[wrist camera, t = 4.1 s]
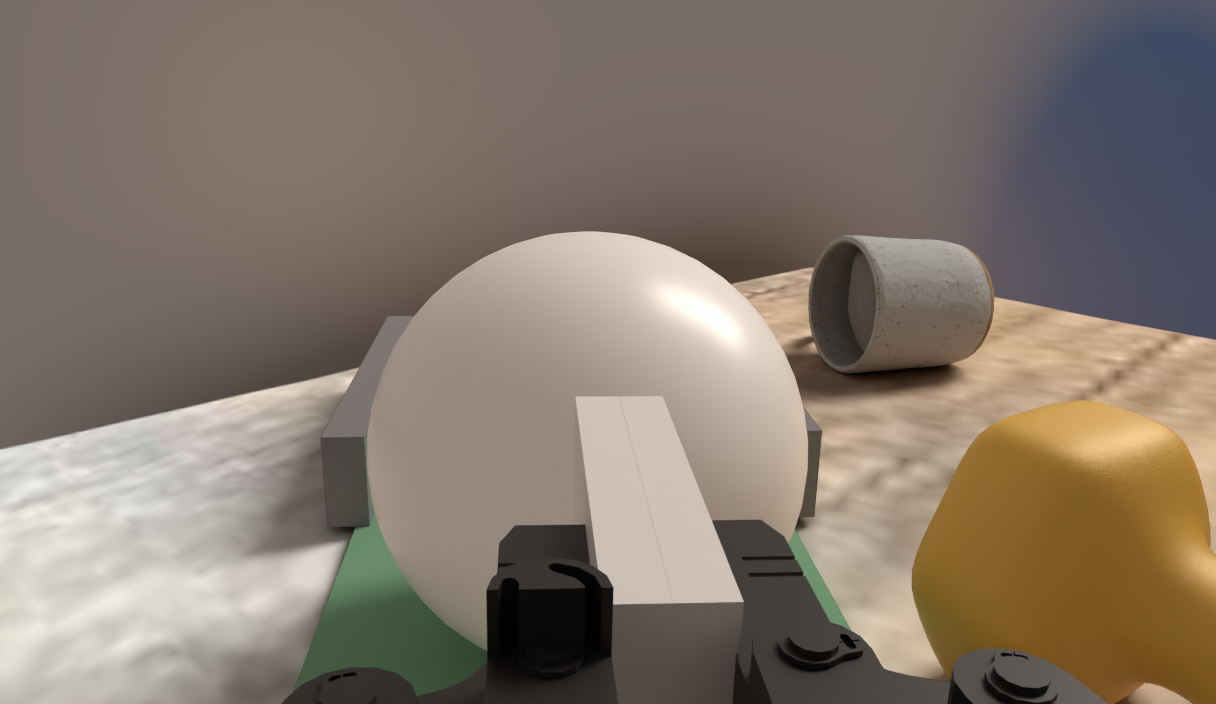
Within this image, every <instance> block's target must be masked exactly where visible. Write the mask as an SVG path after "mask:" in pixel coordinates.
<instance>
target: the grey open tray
mask: <svg viewBox="0 0 1216 704" xmlns="http://www.w3.org/2000/svg"><path fill="white" fill-rule="evenodd" d="M413 317H414V316H388V318H387V319H386V321H385V323H384V325H383V326H382V328H381V330H380V332H379V334H378V335H377V337H376V339H375V341H374V342H373V344H372V346H371V348H370V350H369V351H368V353H367V355H366V357H365V359H364V361H363V362H362V364H361V366H360V368H359V369H358V371H357V373H356V375H355V377H354V378H353V380H352V382H351V384H350V386H349V387H348V389H347V391H346V393H345V395H344V396H343V398H342V400H341V402H340V404H339V405H338V407H337V409H336V411H335V412H334V414H333V416H332V418H331V420H330V421H329V423H328V425H327V427H326V429H325V430H324V432H323V434H322V436H321V448H322V461H323V474H324V487H325V500H326V513H327V525H328V527H358V526H370V524H371V521H372V518H373V515H374V512H375V511H374V508H373V504H372V500H371V492H370V485H369V478H368V468H367V434H368V428H369V421H370V415H371V409H372V405H373V401H374V397H375V394H376V391H377V387H378V384H379V381H380V378H381V374H382V371H383V369H384V367H385V365H386V363H387V361H388V358H389V356H390V354H391V352H392V350H393V348H394V346H395V344H396V343H397V341H398V340H399V338H400V337H401V335H402V334H403V332H404V331H405V329H406V327H407V326H408V324H409V323H410V321H411V320H412V319H413ZM803 409H804V414H805V421H806V429H807V436H808V469H807V477H806V483H805V490H804V496H803V502H802V508H801V511H800V514H799V517H814V515H815V504H816V492H817V481H818V470H819V458H820V447H821V436H822V430H821V429H820V427H819V426H818V425H817V424H816V422H815V421H814V420H813V418H812V417H811V416H810V415H809V413H808V412H807V411H806V409H805V408H804V407H803Z"/></svg>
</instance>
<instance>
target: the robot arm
mask: <svg viewBox="0 0 1216 704" xmlns="http://www.w3.org/2000/svg"><path fill="white" fill-rule="evenodd" d="M486 602H487V660H486V662H485V663H484V665H483V666H482V667H481V668H480V669H479V670H478V671H477V672H475V673H474V674H473V675H472V676H471V677H469V678H467V679H465V680H463V681H462V682H460V683H458V684H456V685H454V686H451V687H448V688H445V689H442V690H439V691H435V692H431V693H427V694H423V695H419V696H416V693H415V691H414V689H413V686H412V684H411V683H410V682H408V681H407V680H405V679H404V678H403V677H401V676H400V675H399V674H397V673H394V672H391V671H387V670H383V669H380V668H376V667H350V668H345V669H341V670H336V671H332V672H328V673H324V674H322V675H320V676H318V677H316V678H314V679H312V680H310V681H308V682H306V683H303V684H302V685H301V686H300V687H298V688H297V689H296V690H295V691H294V692H293V693H292V694H291V695H289V696H288V697H287V698H286V699H285V700H284V702H283V703H282V704H1108V703H1107V702H1105V701H1104V700H1103V699H1102V698H1100V697H1099V696H1098V695H1097V694H1095V693H1094V692H1093V691H1091V690H1090V689H1089V688H1088V687H1086V686H1085V685H1084V684H1082V683H1081V682H1080V681H1079V680H1077V679H1076V678H1075V677H1074V676H1072V675H1071V674H1069V673H1068V672H1066V671H1064V670H1063V669H1061V668H1059V667H1058V666H1056V665H1055V664H1053V663H1051V662H1049V661H1047V660H1044V659H1041V658H1039V657H1036V656H1033V655H1031V654H1029V653H1026V652H1022V651H1018V650H1014V651H1013V650H1011V649H1002V648H994V649H977V650H974V651H972V652H969V653H966V654H964V655H961V656H960V658H959V659H958V660H957V662H956V663H955V664H954V666H953V668H952V675H951V681H950V683H948V682H942V681H936V680H931V679H925V678H920V677H914V676H909V675H904V674H900V673H896V672H892V671H889V670H886V669H884V668H883V667H882V665H881V664H880V662H879V660H878V658H877V657H876V655H875V653H874V652H873V650H872V648H871V647H870V646H869V645H868V644H867V643H866V642H865V641H864V640H863V639H862V638H861V636H859V635H857V634H856V633H854V632H852V631H850V630H849V629H847V628H845V627H843V626H842V625H838V624H835V623H832V622H830V621H829V619H828V617H827V615H826V613H825V611H824V610H823V608H822V606H821V604H820V602H819V600H818V598H817V597H816V595H815V593H814V591H813V589H812V587H811V585H810V583H809V582H808V580H807V578H806V576H804V575H803V570H802V569H801V567H800V565H799V563H798V561H797V560H795V556H794V554H793V552H792V550H791V548H790V546H789V544H788V542H787V541H786V539H785V537H784V536H783V535H782V534H780V533H779V532H777V531H776V530H775V529H773V528H772V527H770V526H769V525H768V524H766V523H765V522H764V521H762V520H711V518H710V515H709V512H708V510H707V507H706V505H705V502H704V500H703V497H702V495H701V492H700V490H699V487H698V485H697V482H696V480H695V477H694V475H693V472H692V469H691V467H690V464H689V462H688V459H687V457H686V454H685V452H684V449H683V447H682V444H681V442H680V439H679V437H678V434H677V432H676V429H675V426H674V424H673V421H672V419H671V416H670V414H669V411H668V409H667V406H666V404H665V401H664V399H663V396H575V449H574V513H573V525H515V526H514V527H513V528H512V529H511V530H510V532H509V533H508V534H507V535H506V536H505V537H504V538H503V539H502V540H501V542H500V543H499V551H498V567H497V574H496V575H495V576H493V577H492V579H491V581H490V583H489V585H488V587H487V590H486Z"/></svg>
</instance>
